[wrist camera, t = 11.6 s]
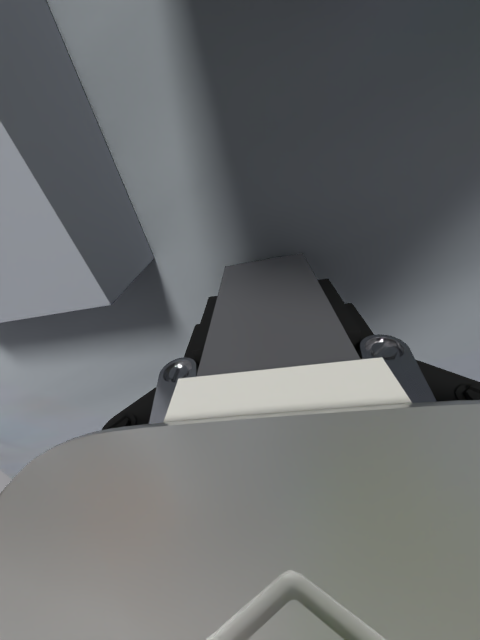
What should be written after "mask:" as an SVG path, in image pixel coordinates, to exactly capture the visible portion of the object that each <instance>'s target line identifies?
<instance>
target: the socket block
mask: <svg viewBox="0 0 480 640" xmlns="http://www.w3.org/2000/svg"><path fill="white" fill-rule="evenodd" d="M153 259H154V256H153V254H152V251H151V249H150V247H149V244H148V242H147V240H146V237H145V235H144V232H143V230H142V228H141V225H140V223H139V221H138V218H137V216H136V213H135V211H134V209H133V206H132V204H131V202H130V199H129V197H128V194H127V192H126V190H125V187H124V185H123V183H122V180H121V178H120V175H119V173H118V171H117V168H116V166H115V164H114V161H113V159H112V156H111V154H110V152H109V149H108V147H107V145H106V142H105V140H104V137H103V135H102V133H101V130H100V128H99V126H98V123H97V121H96V118H95V116H94V114H93V111H92V109H91V107H90V104H89V102H88V99H87V97H86V95H85V92H84V90H83V88H82V85H81V83H80V80H79V78H78V76H77V73H76V71H75V69H74V66H73V64H72V61H71V59H70V57H69V54H68V52H67V50H66V47H65V45H64V42H63V40H62V38H61V35H60V33H59V31H58V28H57V26H56V23H55V21H54V19H53V16H52V14H51V12H50V9H49V7H48V4H47V2H46V0H0V323H2V322H8V321H14V320H20V319H26V318H33V317H39V316H45V315H51V314H57V313H64V312H70V311H76V310H82V309H89V308H95V307H101V306H107V305H111V304H112V303H113V302H114V301H115V300H116V299H117V298H118V297H119V296H120V295H121V293H122V292H123V291H124V290H125V289H126V288H127V287H128V286H129V285H130V284H131V283H132V282H133V280H134V279H135V278H136V277H137V276H138V275H139V274H140V273H141V272H142V271H143V270H144V268H145V267H146V266H147V265H148V264H149V263H150V262H151V261H152V260H153Z"/></svg>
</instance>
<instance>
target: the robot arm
mask: <svg viewBox="0 0 480 640" xmlns="http://www.w3.org/2000/svg"><path fill="white" fill-rule="evenodd" d="M318 282H319V284H320V286H321V288H322V290H323V291H324V293H325V295H326V297H327V299H328V301H329V302H330V304H331V306H332V308H333V310H334V312H335V313H336V315H337V317H338V319H339V321H340V322H341V324H342V326H343V328H344V330H345V332H346V333H347V335H348V337H349V339H350V341H351V343H352V344H353V346H354V348H355V350H356V352H357V354H358V355H359V357H360V359H371V358H380V357H382V358H383V359H384V361H385V362H386V364H387V365H388V367H389V368H390V370H391V371H392V373H393V374H394V376H395V377H396V379H397V380H398V382H399V384H400V385H401V387H402V388H403V390H404V391H405V393H406V394H407V396H408V397H409V399H410V400H411V402H412V403H405V404H391V405H377V406H363V407H349V408H336V409H322V410H309V411H296V412H283V413H270V414H258V415H245V416H232V417H220V418H208V419H197V420H185V421H173V422H164V419H165V416H166V413H167V410H168V407H169V404H170V402H171V399H172V396H173V393H174V390H175V387H176V384H177V381H178V379H180V378H190V377H196V376H197V372H198V369H199V365H200V361H201V357H202V353H203V350H204V346H205V342H206V338H207V334H208V331H209V327H210V323H211V319H212V316H213V312H214V308H215V304H216V300H217V297H218V296H213V297H209V299H208V302H207V305H206V308H205V311H204V314H203V317H202V320H201V323H200V324H197V325H196V326H195V328H194V330H193V333H192V336H191V339H190V342H189V345H188V347H187V350H186V353H185V356H184V358H178V359H175V360H173V361H171V362H169V363H168V364H167V365H166V366H164V368H163V369H162V370H161V372H160V374H159V378H158V383H157V387H156V388H154V389H153V390H151V391H150V392H149V393H147V394H146V395H144V396H143V397H141V398H140V399H139V400H137V401H136V402H134V403H133V404H131V405H130V406H128V407H127V408H126V409H124V410H123V411H121V412H120V413H118V414H117V415H116V416H114V417H113V418H112V419H111V420H109V421H108V422H107V423H106V425H105V426H104V427H103V429H102V430H101V431H96V432H92V433H88V434H85V435H82V436H79V437H75V438H73V439H70V440H68V441H66V442H63V443H61V444H59V445H56V446H55V447H53V448H51V449H49V450H47V451H45V452H44V453H42V454H40V455H39V456H37V457H36V458H34V459H33V460H32V461H31V462H29V463H28V464H27V465H26V466H25V467H24V468H23V469H22V470H21V471H20V472H19V473H18V474H17V475H16V476H15V477H14V478H13V479H12V480H11V481H10V483H9V484H8V485H7V486H6V487H5V488H4V490H3V491H2V492H1V493H0V640H480V382H477V381H475V380H472V379H469V378H466V377H463V376H460V375H458V374H455V373H452V372H449V371H446V370H443V369H441V368H438V367H435V366H432V365H429V364H426V363H424V362H421V361H418V360H415V358H414V356H413V354H412V352H411V350H410V348H409V347H408V346H407V344H406V343H404V342H403V341H402V340H400V339H398V338H395V337H393V336H388V335H380V334H378V335H374V334H373V332H372V331H371V330H370V328H369V327H368V325H367V324H366V322H365V321H364V320H363V318H362V317H361V315H360V314H359V313H358V311H357V310H356V308H355V307H354V305H353V304H352V303H348V304H344V302H343V301H342V299H341V298H340V296H339V294H338V293H337V291H336V290H335V288H334V287H333V285H332V284H331V282H330V281H329V279H322V280H318Z"/></svg>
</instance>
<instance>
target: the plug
mask: <svg viewBox="0 0 480 640" xmlns="http://www.w3.org/2000/svg"><path fill="white" fill-rule="evenodd" d="M405 403H412V402H411V400H410V399H409V397H408V396H407V394H406V393H405V391H404V390H403V388H402V387H401V385H400V384H399V382H398V380H397V379H396V377H395V376H394V374H393V373H392V371H391V370H390V368H389V367H388V365H387V364H386V362H385V361H384V359H383V358H382V357H380V358H371V359H360V357H359V355H358V354H357V352H356V350H355V348H354V346H353V344H352V343H351V341H350V339H349V337H348V335H347V333H346V332H345V330H344V328H343V326H342V324H341V322H340V321H339V319H338V317H337V315H336V313H335V312H334V310H333V308H332V306H331V304H330V302H329V301H328V299H327V297H326V295H325V293H324V291H323V290H322V288H321V286H320V284H319V282H318V280H317V279H316V277H315V275H314V273H313V271H312V270H311V268H310V266H309V264H308V262H307V260H306V259H305V257H304V255H303V253H300V254H294V255H288V256H283V257H277V258H271V259H265V260H260V261H254V262H248V263H242V264H236V265H231V266H225V270H224V274H223V278H222V281H221V285H220V289H219V293H218V297H217V300H216V304H215V308H214V312H213V316H212V319H211V323H210V327H209V331H208V334H207V338H206V342H205V346H204V350H203V353H202V357H201V361H200V365H199V369H198V372H197V376H196V377H190V378H180V379H178V381H177V384H176V387H175V390H174V393H173V396H172V399H171V402H170V404H169V407H168V410H167V413H166V416H165V419H164V422H173V421H185V420H197V419H208V418H220V417H232V416H245V415H258V414H270V413H283V412H296V411H309V410H322V409H336V408H349V407H363V406H377V405H391V404H405Z"/></svg>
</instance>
